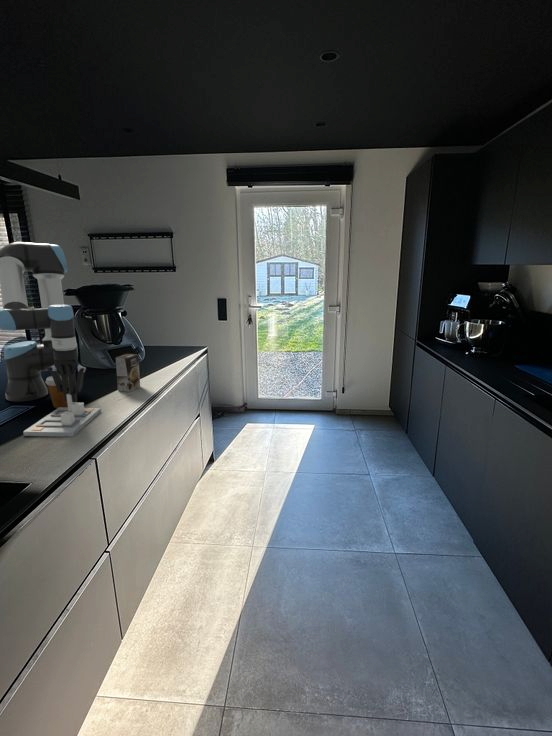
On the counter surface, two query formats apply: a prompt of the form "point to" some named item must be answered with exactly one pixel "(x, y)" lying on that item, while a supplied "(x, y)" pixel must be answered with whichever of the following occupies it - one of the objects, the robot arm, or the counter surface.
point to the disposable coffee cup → (56, 393)
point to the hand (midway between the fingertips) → (72, 409)
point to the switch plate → (54, 426)
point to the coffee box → (128, 372)
